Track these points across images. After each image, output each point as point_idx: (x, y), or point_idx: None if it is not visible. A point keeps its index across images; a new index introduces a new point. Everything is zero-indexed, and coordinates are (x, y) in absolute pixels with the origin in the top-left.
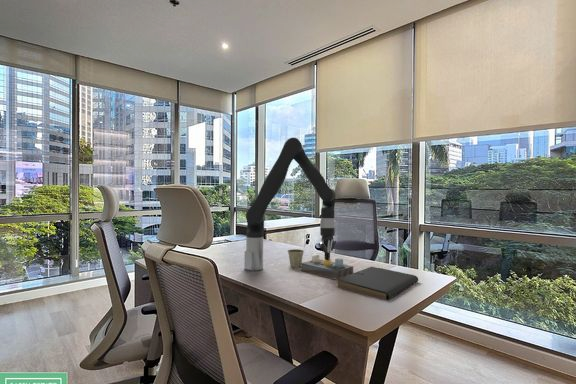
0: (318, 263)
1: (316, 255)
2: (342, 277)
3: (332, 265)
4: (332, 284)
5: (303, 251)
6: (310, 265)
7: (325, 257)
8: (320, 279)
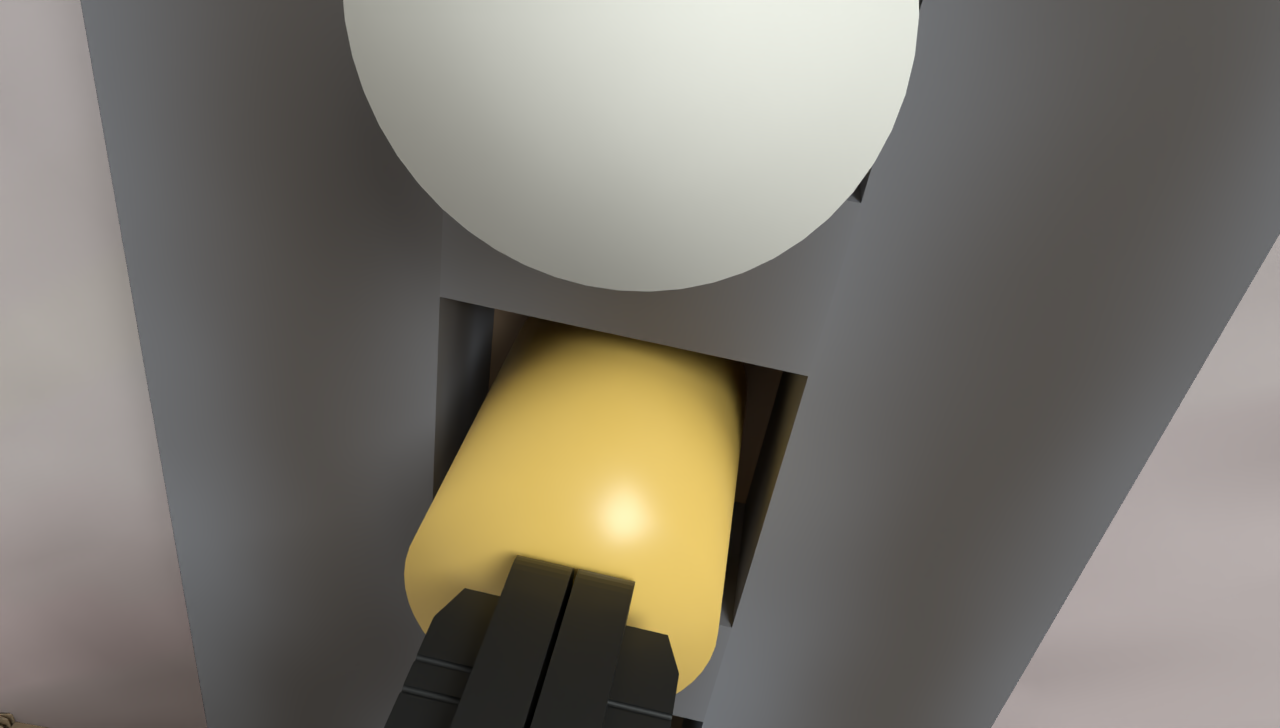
0: None
1: (441, 200)
2: None
3: None
4: (24, 643)
5: None
6: (96, 7)
7: (444, 657)
8: (42, 415)
